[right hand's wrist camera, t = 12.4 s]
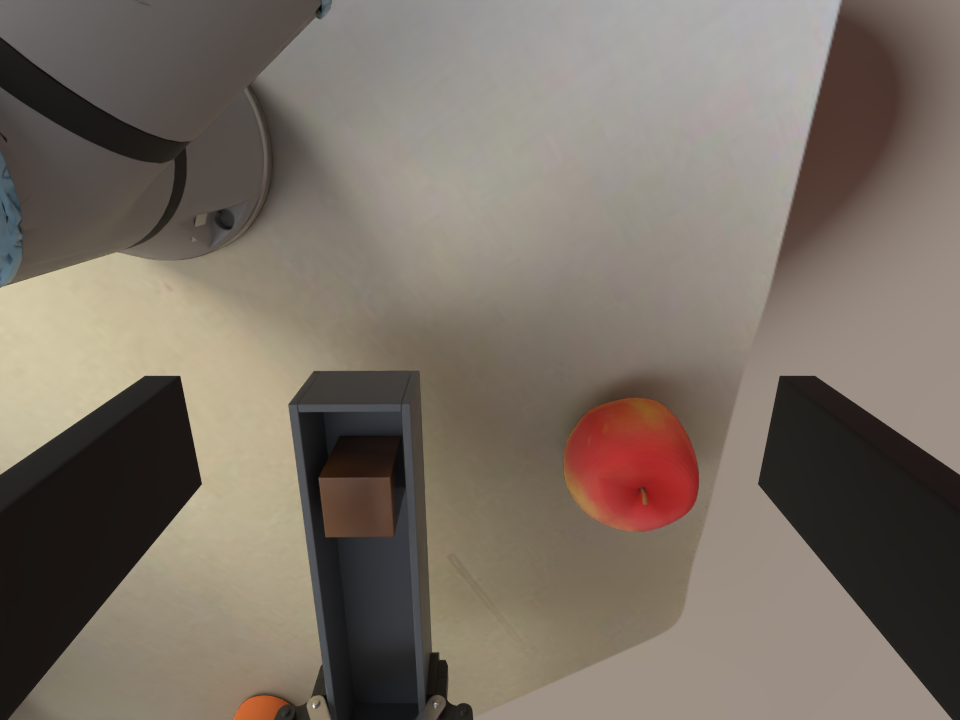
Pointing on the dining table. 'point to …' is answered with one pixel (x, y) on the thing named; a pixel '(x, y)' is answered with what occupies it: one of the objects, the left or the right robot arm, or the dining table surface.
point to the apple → (631, 465)
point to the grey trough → (367, 549)
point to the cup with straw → (259, 708)
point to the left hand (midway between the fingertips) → (387, 661)
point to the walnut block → (363, 486)
